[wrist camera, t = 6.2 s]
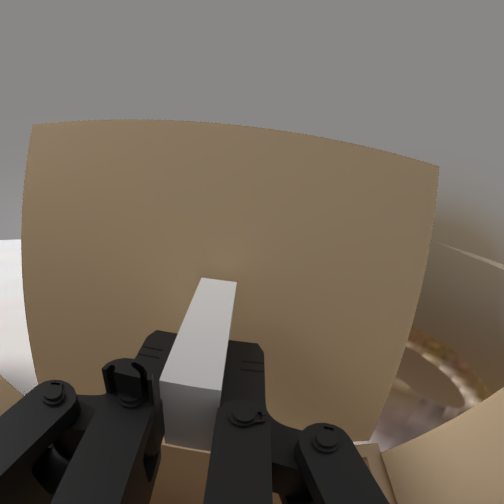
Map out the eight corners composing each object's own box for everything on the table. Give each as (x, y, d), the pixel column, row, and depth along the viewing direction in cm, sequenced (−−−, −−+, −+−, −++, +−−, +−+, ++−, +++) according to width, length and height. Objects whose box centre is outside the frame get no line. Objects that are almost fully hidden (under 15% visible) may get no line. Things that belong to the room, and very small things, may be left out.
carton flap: (439, 166, 13) (432, 167, 13) (32, 124, 12) (38, 126, 13) (369, 440, 15) (366, 434, 16) (39, 389, 15) (43, 385, 15)
